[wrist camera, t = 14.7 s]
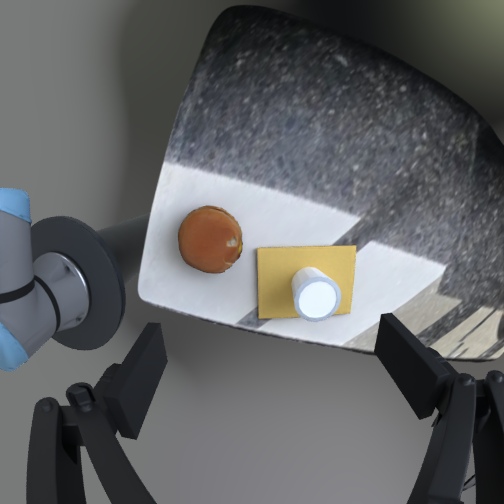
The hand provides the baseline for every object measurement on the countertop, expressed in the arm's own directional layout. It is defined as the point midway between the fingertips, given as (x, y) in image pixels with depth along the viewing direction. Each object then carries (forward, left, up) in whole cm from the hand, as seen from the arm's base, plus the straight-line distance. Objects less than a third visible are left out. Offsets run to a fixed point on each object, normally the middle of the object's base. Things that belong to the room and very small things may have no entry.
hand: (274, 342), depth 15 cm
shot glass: (+8, -7, -28) cm, 30 cm away
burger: (-7, +1, -29) cm, 30 cm away
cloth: (+8, -7, -29) cm, 31 cm away
